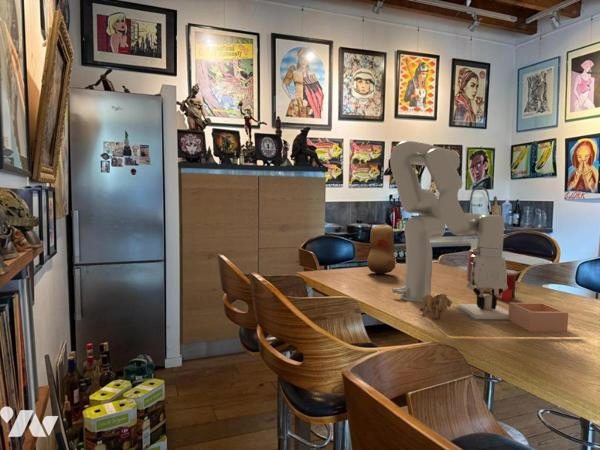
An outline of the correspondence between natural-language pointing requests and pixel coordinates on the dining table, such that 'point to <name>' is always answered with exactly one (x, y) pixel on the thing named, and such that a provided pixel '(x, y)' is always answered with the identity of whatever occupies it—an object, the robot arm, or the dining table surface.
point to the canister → (470, 263)
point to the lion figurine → (436, 304)
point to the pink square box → (538, 317)
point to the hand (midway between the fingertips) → (486, 307)
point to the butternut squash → (381, 250)
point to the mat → (479, 319)
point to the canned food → (509, 287)
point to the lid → (485, 310)
